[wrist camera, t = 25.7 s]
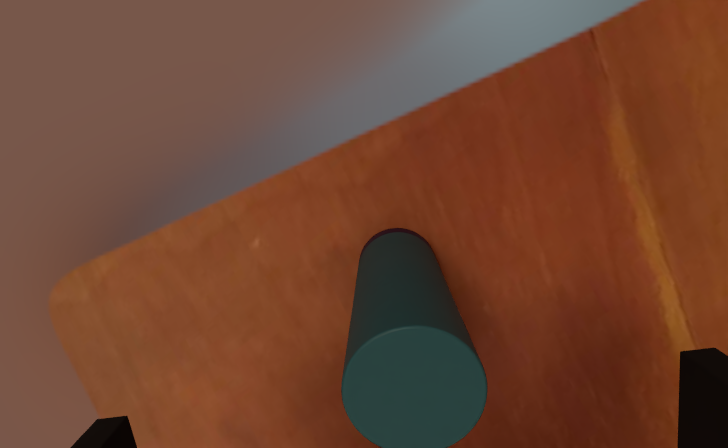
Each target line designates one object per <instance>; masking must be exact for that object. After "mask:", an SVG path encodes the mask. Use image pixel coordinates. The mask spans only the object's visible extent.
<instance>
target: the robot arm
mask: <svg viewBox="0 0 728 448" xmlns="http://www.w3.org/2000/svg"><path fill="white" fill-rule="evenodd" d="M71 448H137V446H136V443H135V439H134V436H133V433H132V430H131V426H130V423H129V420H128V417H127V416H122V417H113V418H105V419H97V420H96V421H95V422H94V423H93V424H92V426H91V427H89V429H88V430H87V431H86V432H85V433H84V434H83V435H82V436H81V437H80V438H79V439H78V440H77V441H76V442H75V444H74V445H73V446H72V447H71ZM678 448H728V356H727V355H725V354H724V353H722V352H721V351H719V350H718V349H716V348H708V349H699V350H690V351H682V352H680V380H679V417H678Z"/></svg>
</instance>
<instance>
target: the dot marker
mask: <svg viewBox="0 0 728 448" xmlns="http://www.w3.org/2000/svg"><path fill="white" fill-rule="evenodd" d="M341 392H342V400H343V404H344V408H345V410H346V413H347V415H348V417H349V419H350V420H351V422H352V424H353V425H354V426H355V428H356V429H357V430H358V431H359V432H360V433H361V434H362V435H363V436H364V437H365V438H367V439H368V440H369V441H371V442H372V443H374V444H376V445H378V446H380V447H382V448H447V447H449V446H451V445H453V444H455V443H456V442H458V441H459V440H461V439H462V438H463V437H465V436H466V435H467V434H468V433H469V432H470V431H471V430H472V428H473V427H474V426H475V425H476V423H477V422H478V420H479V419H480V417H481V414H482V412H483V410H484V407H485V403H486V398H487V379H486V374H485V371H484V368H483V366H482V363H481V361H480V359H479V356H478V354H477V352H476V350H475V347H474V345H473V343H472V340H471V338H470V336H469V333H468V331H467V329H466V327H465V324H464V322H463V320H462V317H461V315H460V313H459V311H458V308H457V306H456V304H455V301H454V299H453V297H452V294H451V292H450V290H449V288H448V285H447V283H446V281H445V278H444V276H443V274H442V272H441V269H440V267H439V265H438V262H437V260H436V258H435V255H434V253H433V251H432V249H431V247H430V245H429V244H428V242H427V241H426V240H425V239H424V238H423V237H421V236H420V235H419V234H417V233H415V232H413V231H410V230H407V229H402V228H393V229H387V230H384V231H382V232H380V233H378V234H376V235H374V236H373V237H372V238H371V239H370V240H369V241H368V242H367V243H366V245H365V246H364V248H363V250H362V252H361V255H360V259H359V266H358V273H357V280H356V287H355V294H354V301H353V308H352V315H351V322H350V328H349V335H348V342H347V349H346V356H345V363H344V370H343V377H342V387H341Z"/></svg>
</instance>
